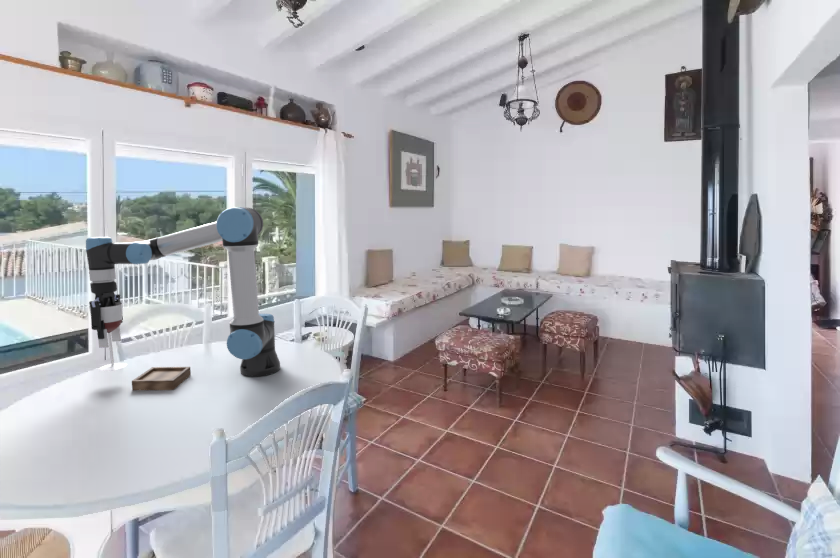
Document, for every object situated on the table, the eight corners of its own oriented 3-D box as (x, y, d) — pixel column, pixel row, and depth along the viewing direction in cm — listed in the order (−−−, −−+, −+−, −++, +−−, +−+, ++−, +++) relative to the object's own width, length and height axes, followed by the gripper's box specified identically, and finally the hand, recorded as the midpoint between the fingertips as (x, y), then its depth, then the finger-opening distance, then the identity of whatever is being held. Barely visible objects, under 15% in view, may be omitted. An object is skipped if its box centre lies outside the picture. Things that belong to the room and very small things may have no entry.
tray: (190, 375, 169) (190, 366, 169) (173, 389, 156) (173, 380, 155) (152, 375, 168) (152, 367, 168) (132, 390, 154) (131, 381, 154)
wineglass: (113, 372, 153) (106, 308, 150) (89, 370, 155) (82, 306, 152) (135, 363, 162) (128, 302, 158) (112, 361, 164) (105, 301, 160)
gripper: (109, 277, 163) (115, 336, 167) (72, 285, 144) (80, 353, 147) (130, 276, 164) (136, 336, 167) (96, 285, 144) (104, 352, 148)
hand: (110, 344), depth 157 cm, fingers closed on wineglass, 7 cm apart
